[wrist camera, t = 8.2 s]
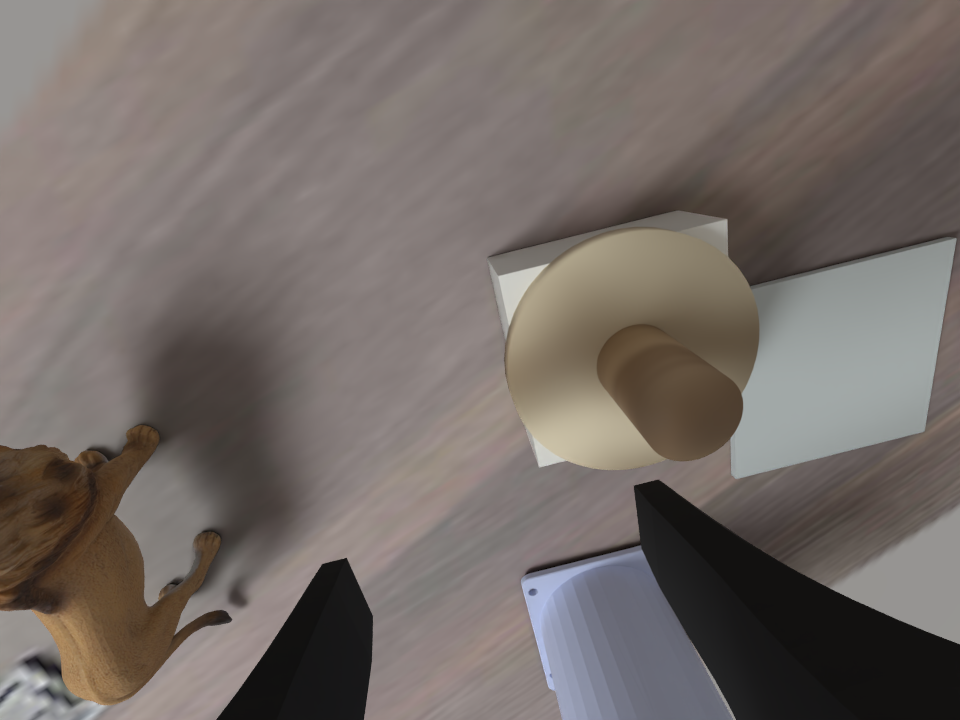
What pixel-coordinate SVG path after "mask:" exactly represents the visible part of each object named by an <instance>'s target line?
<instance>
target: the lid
mask: <svg viewBox="0 0 960 720" xmlns="http://www.w3.org/2000/svg"><path fill="white" fill-rule="evenodd" d="M759 325H760V324H759V316H758V309H757V305H756V302H755V298H754V295H753V293H752V290H751V288H750V286H749V284H748V282H747V280H746V278H745V277H744V275H743V274H742V273H741V271H740V270H739V268H738V267H737V266H736V265H735V264H734V263H733V262H732V261H731V260H730V259H729V258H728V256H726V255H725V254H724V253H722V252H721V251H720V250H718V249H717V248H716V247H714V246H712V245H710V244H708V243H706V242H705V241H703V240H701V239H698V238H695V237H692V236H689V235H686V234H683V233H679V232H675V231H672V230H667V229H661V228H655V227H629V228H620V229H616V230H612V231H608V232H604V233H601V234H598V235H596V236H593V237H590V238H588V239H585V240H584V241H582V242H580V243H578V244H576V245H574V246H572V247H571V248H569V249H568V250H566V251H565V252H563V253H562V254H561V255H559V256H558V257H556V258H555V259H554V260H553V261H552V262H551V263H550V264H549V265H547V266H546V267H545V268H544V269H543V270H542V271H541V272H540V274H539V275H538V276H537V277H536V278H535V279H534V280H533V282H532V283H531V284H530V286H529V287H528V289H527V290H526V292H525V293H524V295H523V296H522V298H521V300H520V302H519V304H518V306H517V308H516V310H515V312H514V314H513V317H512V320H511V323H510V326H509V328H508V333H507V338H506V343H505V357H504V361H505V374H506V379H507V383H508V388H509V391H510V393H511V396H512V399H513V402H514V404H515V407H516V409H517V412H518V414H519V416H520V418H521V420H522V421H523V423H524V425H525V427H526V428H527V429H528V430H529V432H530V433H531V434H532V435H533V437H534V438H535V439H536V440H537V441H538V442H540V443H541V444H542V445H543V446H544V447H545V448H547V449H548V450H549V451H551V452H552V453H554V454H555V455H557V456H559V457H561V458H563V459H565V460H567V461H569V462H572V463H575V464H577V465H580V466H584V467H589V468H594V469H603V470H626V469H633V468H640V467H644V466H648V465H652V464H655V463H658V462H661V461H663V460H666V459H670V460H674V461H691V460H696V459H700V458H702V457H705V456H707V455H709V454H711V453H713V452H715V451H716V450H718V449H719V448H721V447H722V446H723V445H724V444H725V443H726V442H727V441H728V440H729V439H730V438H731V437H732V435H733V434H734V433H735V431H736V429H737V428H738V426H739V424H740V421H741V418H742V414H743V397H742V393H743V391H744V389H745V387H746V385H747V383H748V381H749V378H750V376H751V373H752V371H753V368H754V364H755V361H756V357H757V352H758V345H759Z"/></svg>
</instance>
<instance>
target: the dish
mask: <svg viewBox="0 0 960 720" xmlns="http://www.w3.org/2000/svg"><path fill="white" fill-rule="evenodd" d="M629 227H655V228H661V229H667V230H672V231H675V232H679V233H683V234H686V235H689V236H692V237H695V238H698V239H701V240H703V241H705V242H706V243H708V244H710V245H712V246H714V247H716V248H717V249H718V250H720V251H721V252H722V253H724V254H725V255H726V256H728V226H727V219H724V218H718V217H713V216H707V215H702V214H696V213H690V212H685V211H679V210H677V211H673V212H669V213H665V214H661V215H657V216H653V217H649V218H644V219H640V220H636V221H632V222H628V223H624V224H620V225H616V226H612V227H608V228H604V229H600V230H596V231H592V232H588V233H584V234H580V235H576V236H572V237H568V238H564V239H560V240H556V241H552V242H548V243H544V244H540V245H536V246H532V247H528V248H524V249H520V250H516V251H512V252H508V253H504V254H500V255H496V256H492V257H488V258H487V261H488V266H489V270H490V275H491V279H492V284H493V288H494V293H495V298H496V302H497V307H498V311H499V316H500V320H501V325H502V329H503V334H504V338H505V343H506V338H507V333H508V328H509V326H510V323H511V320H512V317H513V314H514V312H515V310H516V308H517V306H518V304H519V302H520V300H521V298H522V296H523V295H524V293H525V292H526V290H527V289H528V287H529V286H530V284H531V283H532V282H533V280H534V279H535V278H536V277H537V276H538V275H539V274H540V272H541V271H542V270H543V269H544V268H545V267H546V266H547V265H549V264H550V263H551V262H552V261H553V260H554V259H555V258H556V257H558V256H559V255H561V254H562V253H563V252H565V251H566V250H568V249H569V248H571V247H572V246H574V245H576V244H578V243H580V242H582V241H584V240H585V239H588V238H590V237H593V236H596V235H598V234H601V233H604V232H608V231H612V230H616V229H620V228H629ZM523 424H524V423H523ZM524 427H525V425H524ZM525 430H526V432H527V435H528V438H529V440H530V443H531V446H532V449H533V451H534V454H535V457H536V460H537V462H538V465H539V467H543V466H547V465H551V464H555V463H559V462H563V461H567V460H565V459H563V458H561V457H559V456H557V455H555V454H554V453H552V452H551V451H549V450H548V449H547V448H545V447H544V446H543V445H542V444H541V443H540V442H538V441H537V440H536V439H535V438H534V437H533V435H532V434H531V433H530V432H529V430H528V429H527V428H526V427H525Z"/></svg>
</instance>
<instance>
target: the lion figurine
mask: <svg viewBox="0 0 960 720" xmlns="http://www.w3.org/2000/svg"><path fill="white" fill-rule="evenodd" d="M126 436H127V439H128V442H127V443H126V444H125V446H124V448H123V451H122V454H121V455H120V456H118V457H116V458H114V459H112V460H111V461H109V462H108V460H107V458H106V457H105V456H104V455H103V454H101V453H100V452H98V451H83V452H81V453H80V454H79V456H78V457H77V458H76V459H75V462H74V461H70V460H69V458H68V456H67V454H65V453H62V452H61V451H60V450H59V449H58V448H55V447H49V448H48V447H47V446H46V445H37V446H35V447H30V448H25V449H12V448H9V447H7V446H1V445H0V610H2V611H13V610H28V609H31V610H32V611H33V612H34V613H35V614H36V616H37V617H38V618H39V619H40V620H41V621H42V623H43V624H44V625H45V626H46V628H47V629H48V630H49V632H50V633H51V635H52V636H53V638H54V640H55V642H56V644H57V646H58V649H59V652H60V655H61V665H62V677H63V681H64V683H65V685H66V686H67V688H68V690H69V691H71V692H72V693H73V694H74V695H76V696H78V697H80V698H82V699H85V700H90V701H94V702H96V703H98V704H101V705H114V704H117V703H120V702H123V701H125V700H127V699H129V698H131V697H132V696H133V695H135V694H136V693H137V692H138V691H139V690H140V689H141V688H142V687H143V686H144V685H145V684H146V683H147V682H148V681H149V680H150V679H151V678H152V677H153V676H154V674H155V673H156V672H157V671H158V670H159V669H160V667H161V666H162V665H163V664H164V663H165V661H166V660H167V659H168V658H169V657H170V656H171V654H172V653H173V652H174V651H175V650H176V649H177V648H178V647H179V646H180V645H181V643H182V642H183V641H184V640H185V639H186V638H187V637H189V636H190V635H191V634H192V633H194V632H195V631H197V630H199V629H201V628H203V627H205V626H215V625H221V624H225V623H230V622H231V621H232V619H231V617H230V616H229V615H228V613H227V612H226V611H223V610H216V611H212V612H209V613H206V614H204V615H202V616H200V617H199V618H197V619H195V620H194V621H192V622H191V623H189V624H188V625H186V626H185V627H184V628H182V629H181V630H180V631H179V632H178V633H177V634H175V631H176V628H177V625H178V622H179V619H180V615H181V613H182V611H183V609H184V608H185V606H186V604H187V602H188V600H189V598H190V597H191V595H192V594H193V593H194V592H195V591H197V590H198V589H199V588H200V586H201V584H202V582H203V580H204V578H205V575H206V573H207V571H208V568H209V566H210V564H211V562H212V560H213V558H214V557H215V555H216V554H217V552H218V550H219V547H220V544H221V539H220V536H219V535H217V534H216V533H214V532H204V533H200V534H198V535H197V536H196V537H195V539H194V542H193V547H194V550H195V560H194V563H193V566H192V568H191V570H190V572H189V573H188V575H187V576H186V577H185V579H184V580H183V581H182V582H181V583H180V584H179V585H173V584H169V585H166V586H165V587H164V588H162V590H161V591H160V593H159V598H158V599H159V601H158V602H156V603H155V604H154V605H153V606H151V607H149V606H147V604H146V602H145V600H144V561H143V557H142V554H141V551H140V548H139V545H138V543H137V541H136V540H135V538H134V536H133V534H132V533H131V532H130V531H129V529H128V528H127V527H126V526H125V525H124V524H123V522H122V521H121V520H120V519H119V518H118V517H117V516H116V515H114V513H115V511H116V510H117V508H118V506H119V503H120V501H121V498H122V496H123V494H124V492H125V491H126V489H127V488H128V486H129V485H130V484H131V482H132V480H133V479H134V477H135V476H136V475H137V473H138V472H139V471H140V469H141V468H142V467H143V465H144V464H145V463H146V462H147V461H148V459H149V458H150V457H151V455H152V454H153V452H154V451H155V449H156V447H157V445H158V443H159V434H158V432H157V431H156V430H155V429H153V428H152V427H149V426H146V425H138V426H136V427H134V428H132V429H129V430H128V431H127V433H126ZM174 634H175V635H174Z"/></svg>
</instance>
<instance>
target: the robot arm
mask: <svg viewBox="0 0 960 720" xmlns="http://www.w3.org/2000/svg"><path fill="white" fill-rule="evenodd" d="M634 492H635V500H636V508H637V516H638V524H639V533H640V541H641V545H640V546H636V547H632V548H629V549H625V550H621V551H617V552H613V553H609V554H605V555H601V556H597V557H593V558H589V559H585V560H581V561H577V562H573V563H569V564H565V565H561V566H557V567H553V568H549V569H545V570H541V571H537V572H533V573H529V574H527V575H525V576H524V577H523V578H522V579H521V584H522V588H523V592H524V596H525V600H526V603H527V607H528V611H529V615H530V618H531V622H532V626H533V630H534V634H535V637H536V641H537V645H538V649H539V653H540V656H541V660H542V664H543V668H544V671H545V675H546V679H547V683H548V687H549V688H550V689H551V690H555V691H556V695H557V699H558V704H559V708H560V712H561V716H562V720H733V718H732V716H731V715H730V713H729V711H728V709H727V707H726V705H725V704H724V702H723V700H722V698H721V697H720V695H719V693H718V691H717V689H716V687H715V685H714V684H713V682H712V680H711V678H710V676H709V675H708V673H707V671H706V669H705V667H704V665H703V664H702V662H701V660H700V658H699V656H698V654H697V653H696V651H695V649H694V647H693V645H692V644H691V642H690V640H689V638H690V639H691V641H692V643H693V644H694V646H695V648H696V649H697V651H698V653H699V654H700V656H701V658H702V659H703V661H704V663H705V664H706V666H707V668H708V669H709V671H710V672H711V674H712V676H713V677H714V679H715V680H716V683H717V684H718V686H719V688H720V690H721V692H722V693H723V695H724V697H725V699H726V701H727V702H728V704H729V706H730V708H731V710H732V712H733V714H734V716H735V718H736V720H960V644H957V643H955V642H952V641H949V640H947V639H944V638H942V637H939V636H936V635H934V634H931V633H928V632H926V631H924V630H921V629H919V628H916V627H914V626H912V625H909V624H907V623H904V622H902V621H899V620H897V619H895V618H892V617H890V616H888V615H886V614H884V613H881V612H879V611H877V610H875V609H872V608H870V607H868V606H866V605H864V604H861V603H859V602H856V601H854V600H852V599H850V598H848V597H846V596H844V595H842V594H840V593H838V592H836V591H834V590H832V589H830V588H828V587H826V586H824V585H822V584H820V583H818V582H816V581H814V580H812V579H810V578H809V577H807V576H805V575H803V574H801V573H799V572H797V571H795V570H794V569H792V568H790V567H788V566H787V565H785V564H783V563H781V562H780V561H778V560H776V559H775V558H773V557H771V556H770V555H768V554H766V553H765V552H763V551H761V550H760V549H758V548H756V547H755V546H753V545H752V544H750V543H748V542H747V541H745V540H744V539H742V538H741V537H739V536H738V535H736V534H735V533H733V532H732V531H730V530H729V529H727V528H726V527H724V526H723V525H721V524H720V523H718V522H717V521H715V520H714V519H712V518H711V517H709V516H708V515H706V514H705V513H704V512H702V511H701V510H699V509H698V508H697V507H695V506H694V505H693V504H691V503H690V502H688V501H687V500H686V499H684V498H683V497H682V496H680V495H679V494H678V493H676V492H675V491H674V490H672V489H671V488H669V487H668V486H667V485H665V484H664V483H663V482H661V481H659V480H655V481H651V482H647V483H643V484H639V485H635V486H634ZM530 589H533V590H530ZM679 621H680V622H679ZM682 626H683V627H682ZM683 628H684V629H683ZM684 630H685V631H686V633H687V634H688V636H689V638H688V636H687V634H686V633H685V631H684ZM372 638H373V615H372V613H371V611H370V609H369V607H368V604H367V602H366V600H365V598H364V595H363V593H362V591H361V589H360V587H359V584H358V582H357V580H356V578H355V575H354V573H353V571H352V569H351V567H350V564H349V562H348V560H347V558H345V559H341V560H337V561H333V562H329V563H325V564H322V565H321V567H320V569H319V570H318V572H317V573H316V575H315V576H314V578H313V579H312V581H311V582H310V584H309V586H308V587H307V589H306V590H305V592H304V594H303V595H302V597H301V598H300V600H299V602H298V603H297V605H296V606H295V608H294V609H293V611H292V613H291V614H290V616H289V617H288V619H287V620H286V622H285V623H284V625H283V627H282V628H281V630H280V631H279V633H278V634H277V636H276V637H275V639H274V640H273V642H272V643H271V645H270V646H269V648H268V649H267V651H266V652H265V654H264V655H263V657H262V658H261V659H260V661H259V662H258V664H257V665H256V667H255V668H254V669H253V671H252V672H251V674H250V675H249V676H248V678H247V679H246V681H245V682H244V684H243V685H242V686H241V688H240V689H239V691H238V692H237V693H236V695H235V696H234V697H233V699H232V700H231V701H230V703H229V704H228V705H227V707H226V708H225V709H224V710H223V712H222V713H221V714H220V716H219V717H218V718H217V719H216V720H364V714H365V707H366V700H367V693H368V686H369V678H370V671H371V663H372Z"/></svg>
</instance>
